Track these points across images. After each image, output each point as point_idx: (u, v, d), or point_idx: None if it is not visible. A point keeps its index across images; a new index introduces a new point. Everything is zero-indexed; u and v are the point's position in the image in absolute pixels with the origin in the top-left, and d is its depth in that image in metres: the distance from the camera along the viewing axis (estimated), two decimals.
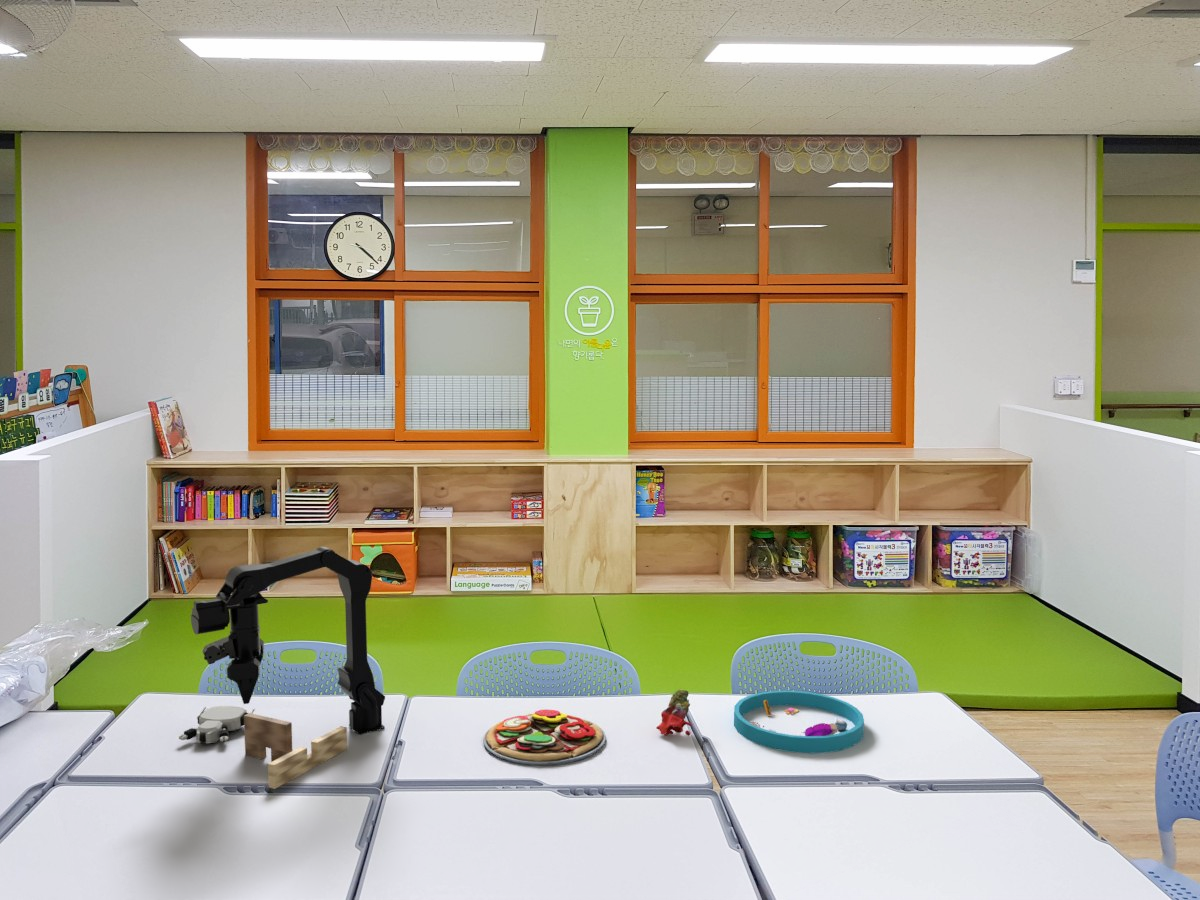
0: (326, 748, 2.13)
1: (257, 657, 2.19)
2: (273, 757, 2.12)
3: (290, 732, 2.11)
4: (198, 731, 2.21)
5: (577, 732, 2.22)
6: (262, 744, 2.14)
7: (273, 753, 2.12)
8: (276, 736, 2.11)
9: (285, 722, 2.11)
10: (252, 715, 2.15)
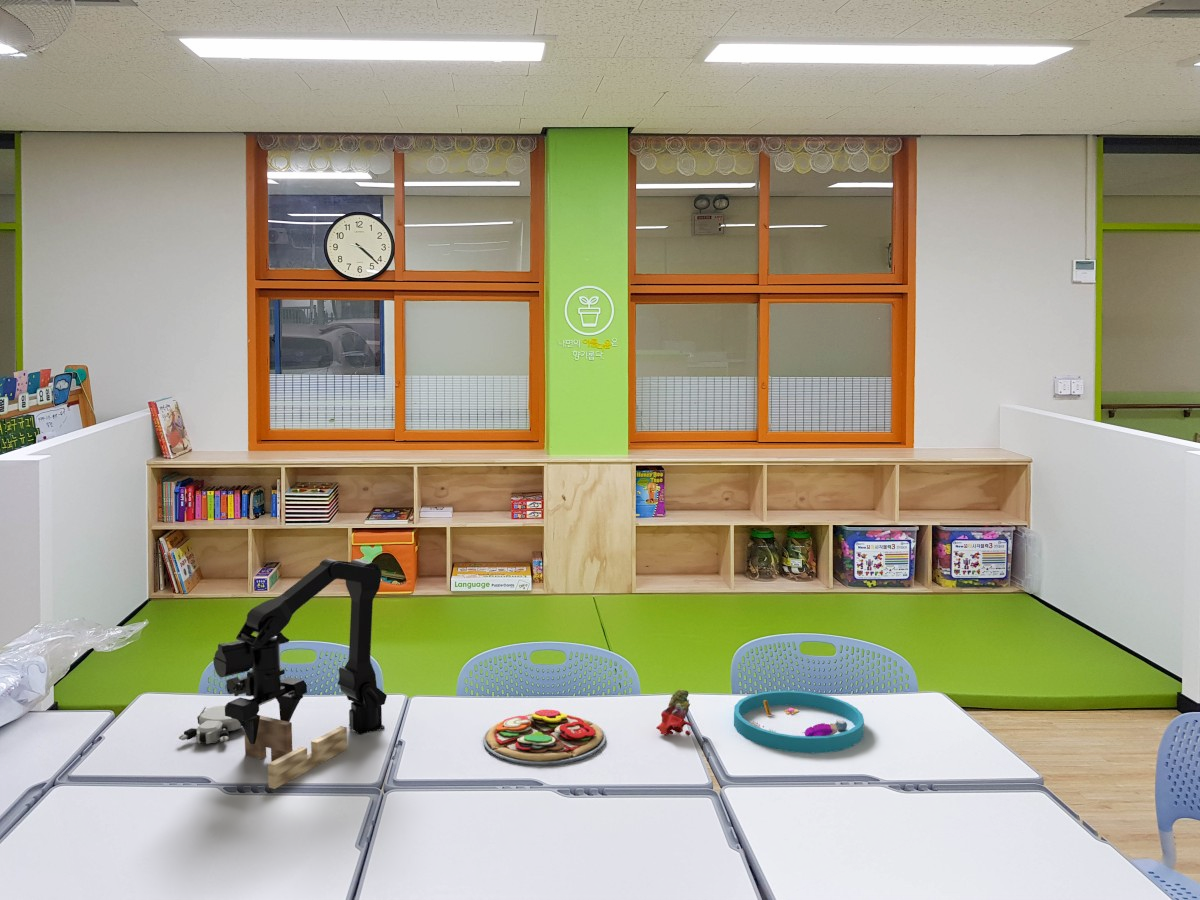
0: (326, 748, 2.13)
1: (291, 699, 2.17)
2: (273, 757, 2.12)
3: (290, 732, 2.11)
4: (198, 731, 2.21)
5: (577, 732, 2.22)
6: (262, 744, 2.14)
7: (273, 753, 2.12)
8: (276, 736, 2.11)
9: (285, 722, 2.11)
10: None
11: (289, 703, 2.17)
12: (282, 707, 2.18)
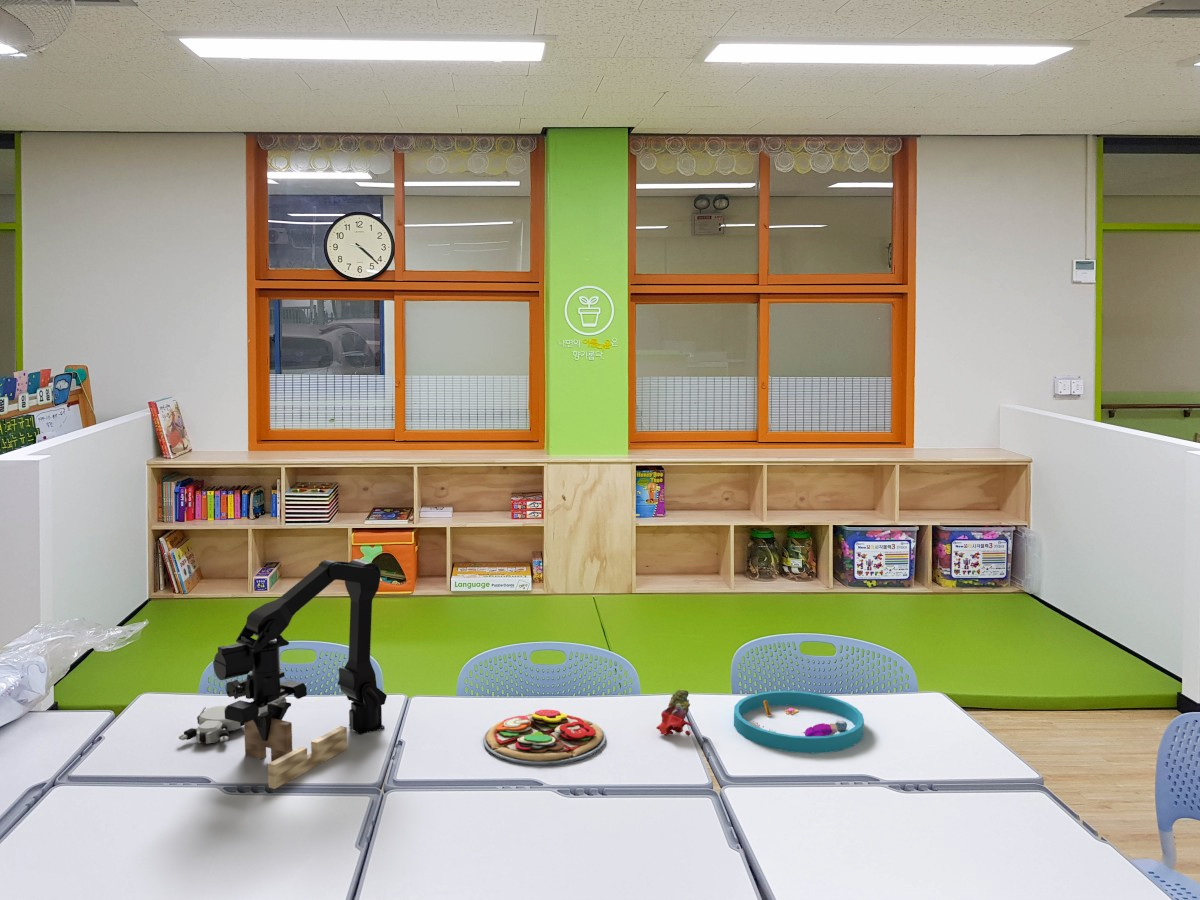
0: (326, 748, 2.13)
1: (278, 707, 2.14)
2: (273, 757, 2.12)
3: (290, 732, 2.11)
4: (198, 731, 2.21)
5: (577, 732, 2.22)
6: (262, 744, 2.14)
7: (273, 752, 2.12)
8: (276, 736, 2.11)
9: (285, 722, 2.11)
10: None
11: (276, 711, 2.14)
12: None
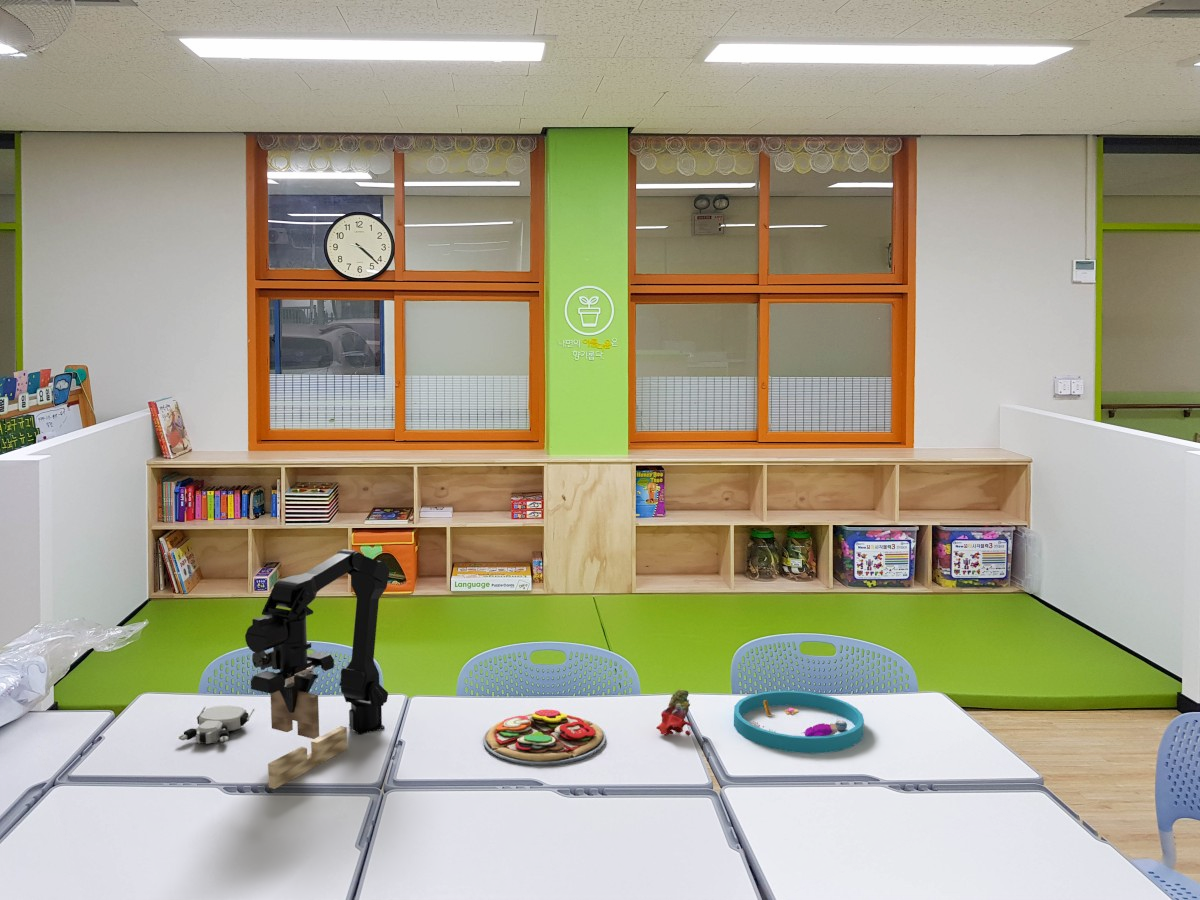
0: (326, 748, 2.13)
1: (305, 679, 2.10)
2: (299, 730, 2.09)
3: (317, 705, 2.08)
4: (198, 731, 2.21)
5: (577, 732, 2.22)
6: (288, 717, 2.10)
7: (300, 726, 2.09)
8: (303, 709, 2.08)
9: (312, 695, 2.08)
10: None
11: (303, 682, 2.10)
12: None
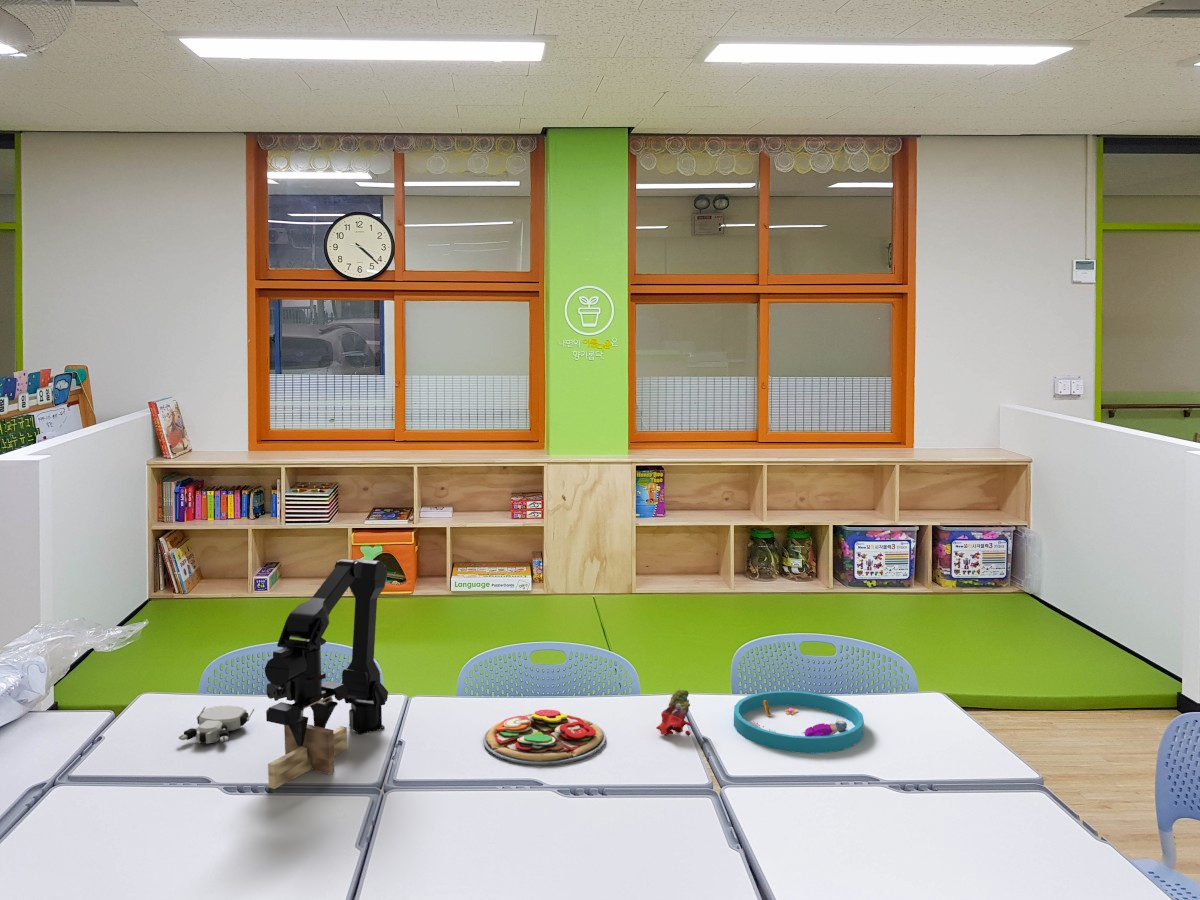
0: None
1: (325, 707, 2.11)
2: (314, 765, 2.08)
3: (332, 740, 2.07)
4: (198, 731, 2.21)
5: (577, 732, 2.22)
6: None
7: (315, 761, 2.08)
8: (318, 744, 2.07)
9: (327, 730, 2.07)
10: None
11: (323, 710, 2.11)
12: (316, 715, 2.12)
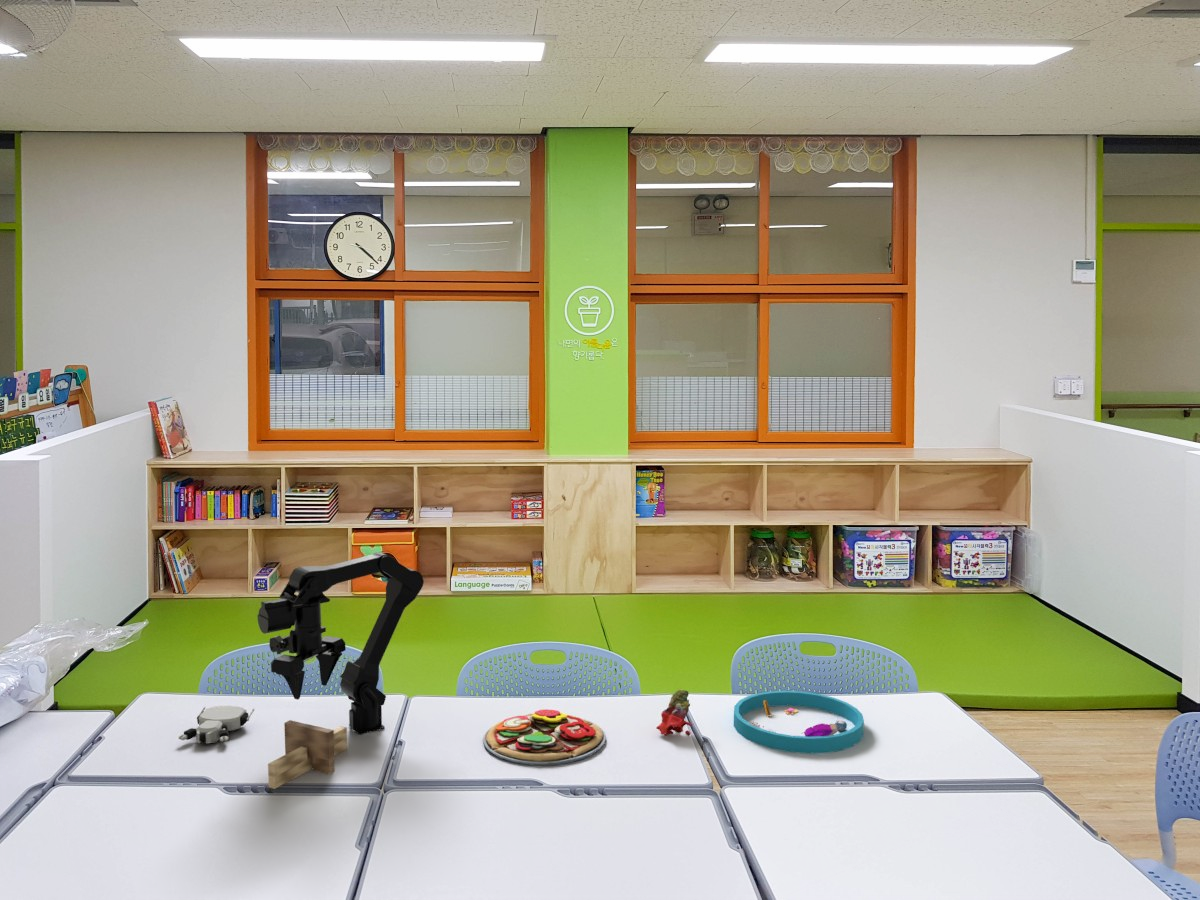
0: None
1: (331, 656, 2.25)
2: (314, 765, 2.09)
3: (332, 740, 2.07)
4: (198, 731, 2.21)
5: (577, 732, 2.22)
6: None
7: (315, 761, 2.08)
8: (318, 744, 2.07)
9: (327, 730, 2.07)
10: (293, 722, 2.11)
11: (329, 660, 2.25)
12: (322, 664, 2.26)
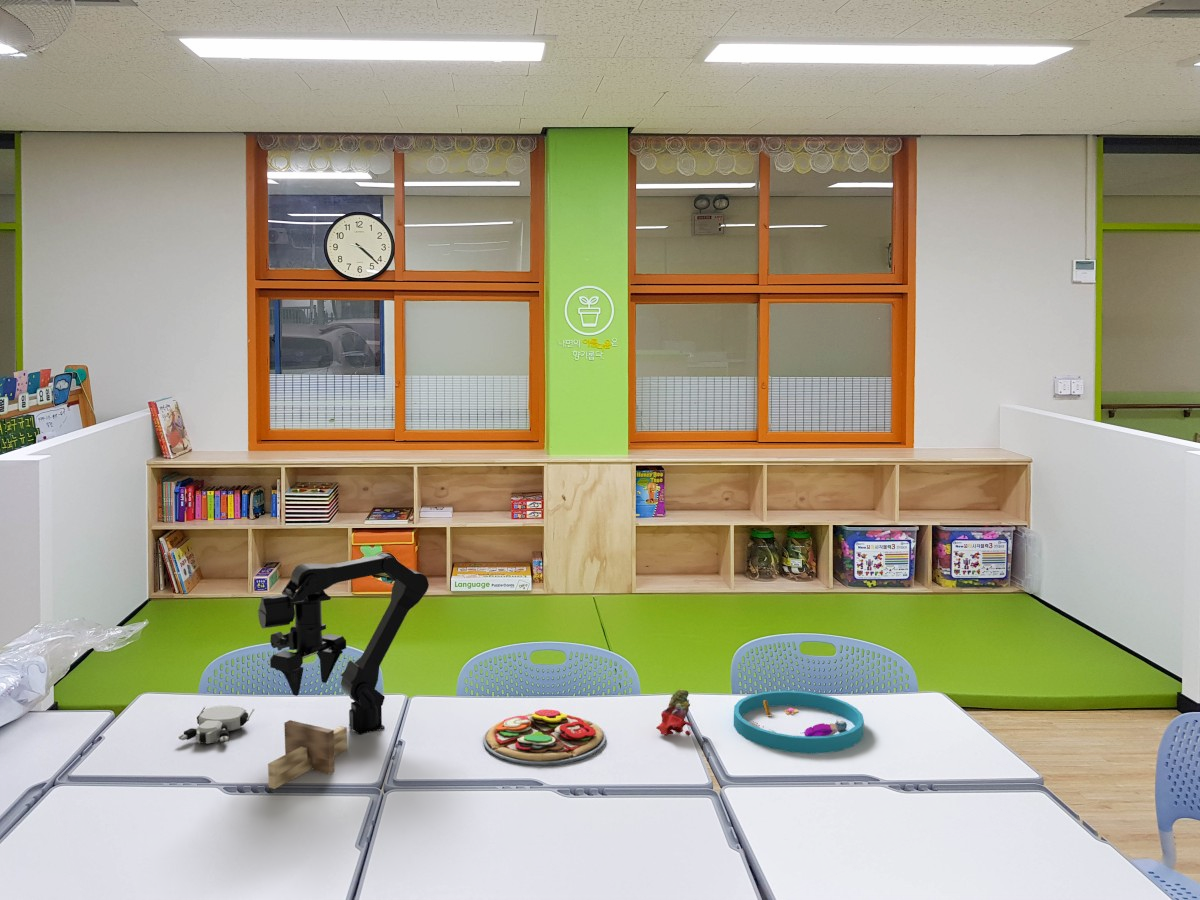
0: None
1: (331, 654, 2.26)
2: (314, 765, 2.09)
3: (332, 740, 2.07)
4: (198, 731, 2.21)
5: (577, 732, 2.22)
6: None
7: (315, 761, 2.08)
8: (318, 744, 2.07)
9: (327, 730, 2.07)
10: (293, 722, 2.11)
11: (329, 657, 2.26)
12: (323, 662, 2.27)
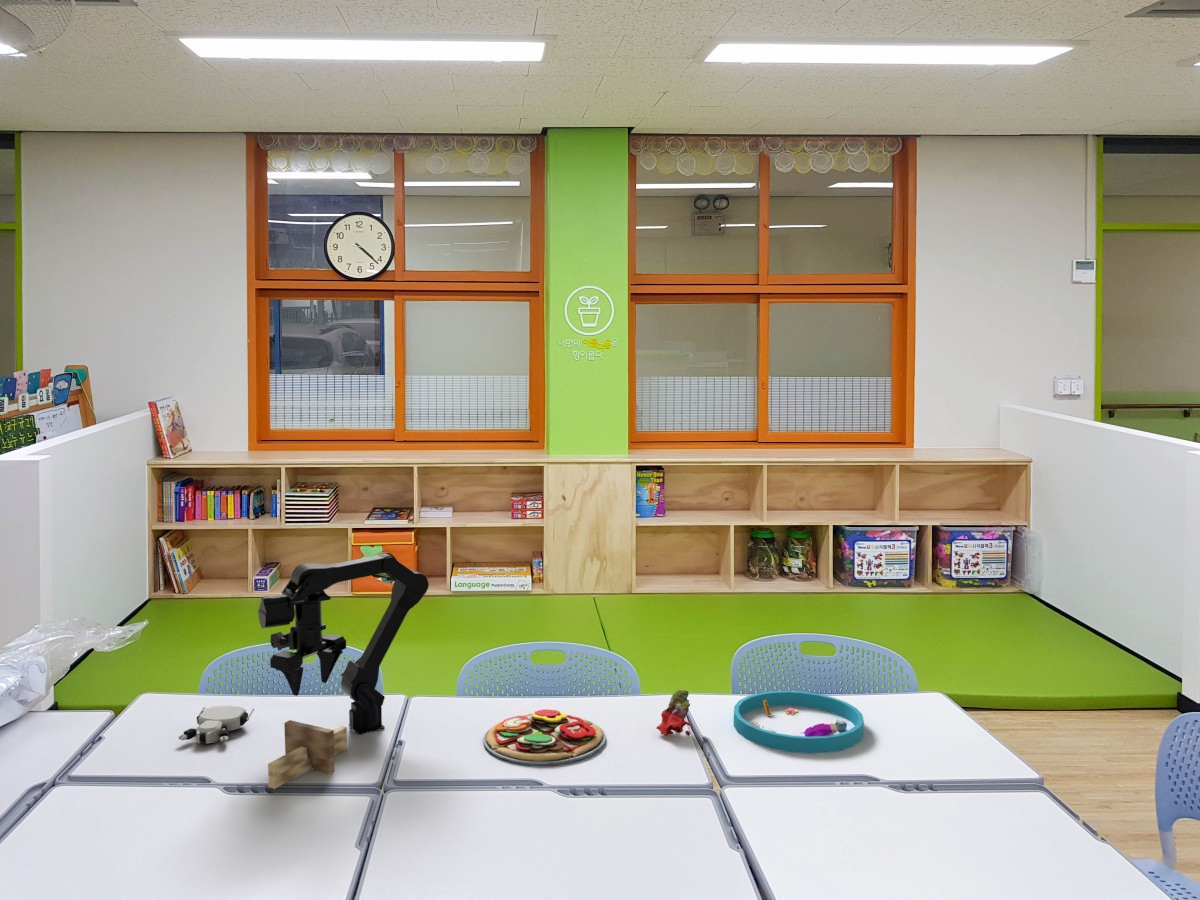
0: None
1: (331, 654, 2.26)
2: (314, 765, 2.09)
3: (332, 740, 2.07)
4: (198, 731, 2.21)
5: (577, 732, 2.22)
6: None
7: (315, 761, 2.08)
8: (318, 744, 2.07)
9: (327, 730, 2.07)
10: (293, 722, 2.11)
11: (329, 657, 2.26)
12: (323, 662, 2.27)
